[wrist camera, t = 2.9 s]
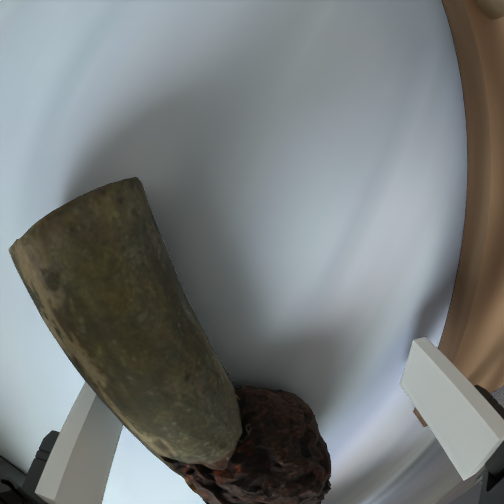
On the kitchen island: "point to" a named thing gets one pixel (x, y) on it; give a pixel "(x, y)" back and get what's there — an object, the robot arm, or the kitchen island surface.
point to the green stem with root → (163, 355)
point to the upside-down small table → (480, 198)
